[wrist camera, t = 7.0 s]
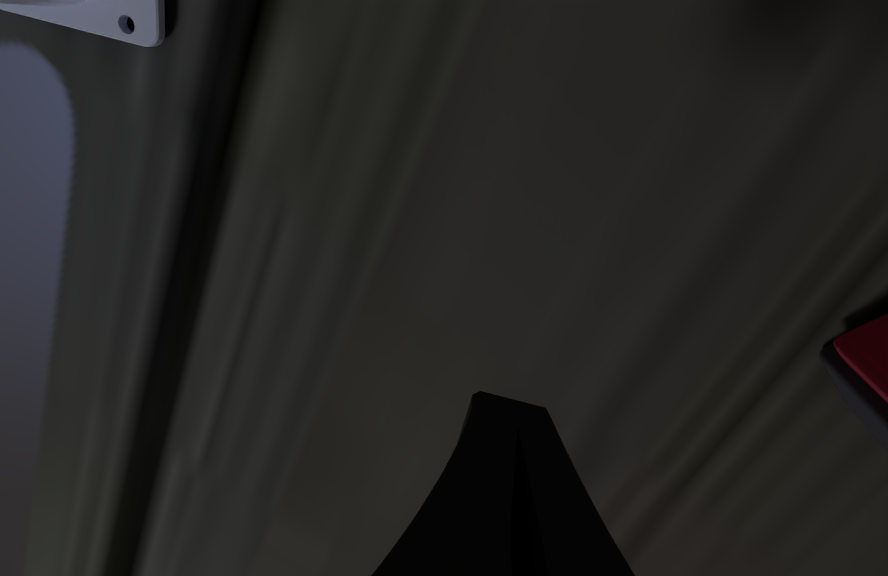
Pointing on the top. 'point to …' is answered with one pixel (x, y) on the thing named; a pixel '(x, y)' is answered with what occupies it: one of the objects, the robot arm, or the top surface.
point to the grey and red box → (863, 373)
